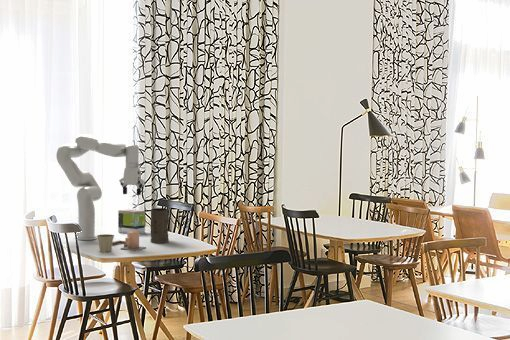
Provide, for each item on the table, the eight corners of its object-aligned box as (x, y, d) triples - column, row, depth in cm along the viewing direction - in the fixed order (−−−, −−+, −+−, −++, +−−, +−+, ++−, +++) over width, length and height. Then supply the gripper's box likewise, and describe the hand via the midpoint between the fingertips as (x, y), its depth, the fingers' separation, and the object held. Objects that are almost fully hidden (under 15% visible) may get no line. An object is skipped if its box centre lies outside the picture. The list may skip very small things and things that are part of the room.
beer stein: (164, 244, 372) (165, 210, 371) (147, 243, 375) (147, 209, 373) (173, 240, 387) (173, 207, 386) (156, 239, 390) (156, 206, 389)
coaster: (120, 249, 353) (120, 248, 353) (131, 246, 362) (131, 245, 362) (135, 250, 349) (135, 249, 349) (146, 248, 358) (146, 247, 358)
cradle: (109, 245, 364) (109, 242, 364) (120, 243, 373) (120, 240, 373) (125, 247, 360) (125, 244, 360) (135, 244, 369) (135, 242, 368)
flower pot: (98, 249, 351) (98, 234, 350) (115, 249, 352) (115, 234, 351) (95, 252, 342) (95, 236, 341) (113, 252, 342) (113, 236, 342)
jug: (131, 245, 360) (131, 230, 359) (141, 246, 358) (141, 231, 357) (121, 249, 350) (121, 233, 349) (131, 250, 348) (131, 234, 347)
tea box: (145, 232, 414) (145, 210, 413) (134, 234, 405) (134, 211, 404) (128, 230, 422) (128, 208, 421) (117, 232, 413) (117, 209, 412)
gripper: (148, 166, 375) (147, 194, 376) (123, 164, 382) (123, 193, 383) (140, 166, 368) (140, 195, 369) (116, 165, 375) (115, 194, 376)
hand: (131, 194), depth 376 cm, fingers open, 9 cm apart
